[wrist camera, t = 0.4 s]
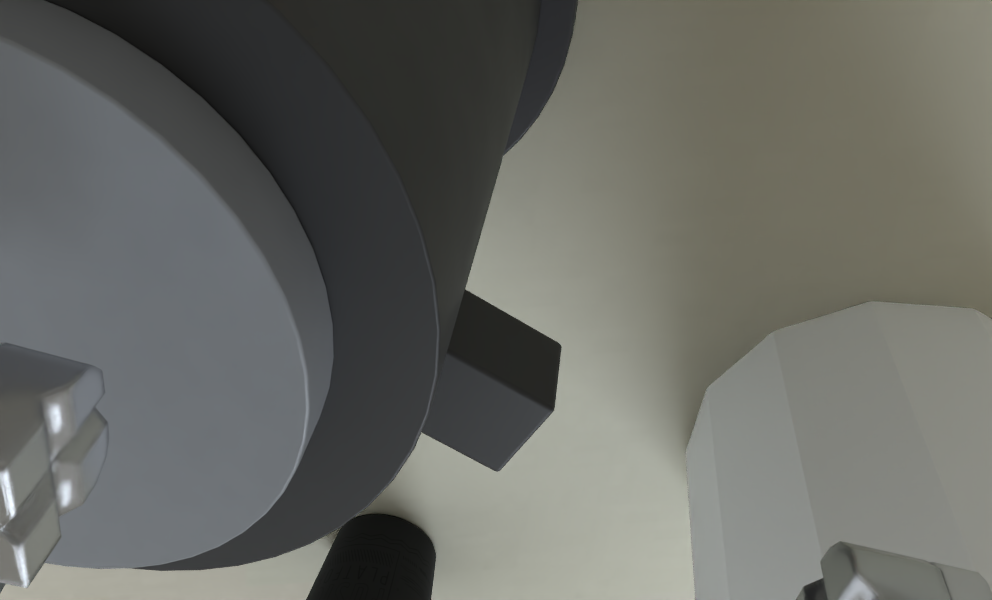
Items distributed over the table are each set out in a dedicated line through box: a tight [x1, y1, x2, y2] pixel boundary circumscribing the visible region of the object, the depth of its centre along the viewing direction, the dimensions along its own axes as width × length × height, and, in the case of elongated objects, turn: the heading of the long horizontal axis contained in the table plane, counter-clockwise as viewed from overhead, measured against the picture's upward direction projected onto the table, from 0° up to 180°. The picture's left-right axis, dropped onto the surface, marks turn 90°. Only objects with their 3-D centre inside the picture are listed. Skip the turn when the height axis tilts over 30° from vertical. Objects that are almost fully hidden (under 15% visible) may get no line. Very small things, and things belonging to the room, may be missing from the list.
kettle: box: [0, 0, 578, 571], centre depth 20 cm, size 18×15×19 cm
